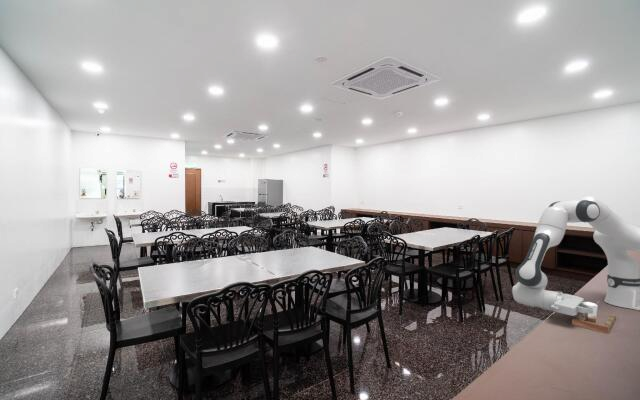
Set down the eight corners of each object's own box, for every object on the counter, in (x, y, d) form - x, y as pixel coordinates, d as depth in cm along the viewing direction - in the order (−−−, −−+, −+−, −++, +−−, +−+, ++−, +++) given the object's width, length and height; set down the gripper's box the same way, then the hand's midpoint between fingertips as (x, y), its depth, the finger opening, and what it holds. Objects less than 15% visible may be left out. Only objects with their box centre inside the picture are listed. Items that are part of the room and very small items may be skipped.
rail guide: (582, 311, 144) (582, 306, 144) (615, 318, 135) (615, 313, 135) (571, 324, 128) (571, 319, 128) (608, 333, 120) (608, 327, 120)
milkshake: (602, 326, 125) (602, 302, 125) (587, 325, 126) (587, 301, 126) (595, 322, 129) (595, 299, 129) (580, 321, 130) (580, 298, 130)
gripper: (547, 299, 131) (589, 307, 120) (559, 290, 144) (598, 297, 133) (547, 313, 131) (589, 323, 120) (558, 303, 144) (598, 311, 133)
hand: (594, 309), depth 127 cm, fingers closed on milkshake, 4 cm apart
